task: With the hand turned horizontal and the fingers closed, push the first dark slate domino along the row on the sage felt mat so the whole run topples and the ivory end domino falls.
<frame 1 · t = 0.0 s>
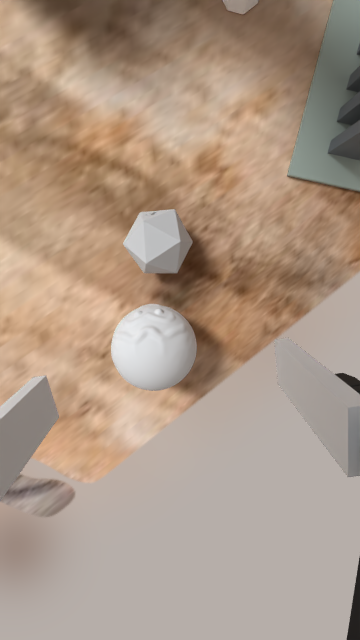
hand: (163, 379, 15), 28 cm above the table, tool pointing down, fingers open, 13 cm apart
decorative ball: (157, 333, 44), on the table
domino 2: (356, 119, 36), point 1 cm above the table, touching felt mat
domino 1: (346, 150, 37), point 1 cm above the table, touching felt mat
die: (160, 243, 40), on the table
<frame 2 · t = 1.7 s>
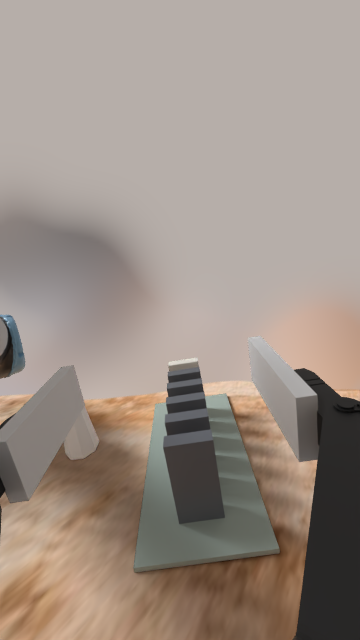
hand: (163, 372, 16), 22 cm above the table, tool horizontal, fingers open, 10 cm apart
domino 3: (196, 461, 37), point 1 cm above the table, touching felt mat
domino 2: (198, 484, 33), point 1 cm above the table, touching felt mat
salt shaker: (83, 449, 44), on the table
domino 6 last: (191, 412, 48), point 1 cm above the table, touching felt mat
domino 4: (194, 442, 41), point 1 cm above the table, touching felt mat
felt mat: (196, 454, 39), on the table
domino 5: (193, 426, 44), point 1 cm above the table, touching felt mat
domino 1: (201, 513, 30), point 1 cm above the table, touching felt mat
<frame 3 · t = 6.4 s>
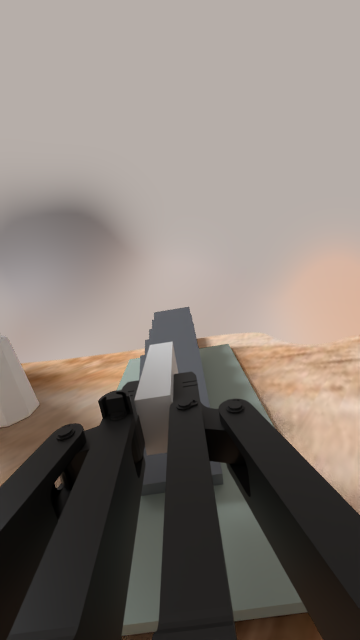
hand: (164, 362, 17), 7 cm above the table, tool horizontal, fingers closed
domino 3: (178, 408, 23), point 1 cm above the table, tilted 66°, touching domino 2, domino 4, felt mat
domino 2: (178, 437, 19), point 1 cm above the table, tilted 66°, touching domino 1, domino 3
salt shaker: (13, 415, 29), on the table
domino 4: (178, 385, 27), point 1 cm above the table, tilted 65°, touching domino 3, domino 5, felt mat
felt mat: (181, 415, 24), on the table
domino 5: (178, 367, 31), point 1 cm above the table, tilted 65°, touching domino 4, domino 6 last
domino 1: (179, 485, 15), point 1 cm above the table, tilted 66°, touching domino 2, felt mat
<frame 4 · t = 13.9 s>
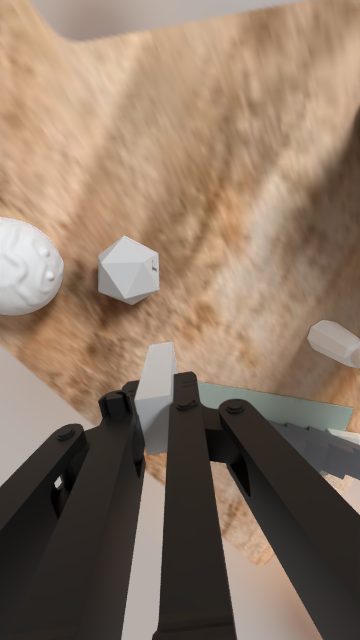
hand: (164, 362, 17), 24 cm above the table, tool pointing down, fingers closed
decorative ball: (36, 265, 40), on the table
domino 3: (260, 433, 46), point 1 cm above the table, tilted 66°, touching domino 2, domino 4, felt mat
domino 2: (239, 430, 46), point 1 cm above the table, tilted 66°, touching domino 1, domino 3
salt shaker: (322, 334, 43), on the table
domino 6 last: (324, 443, 47), point 1 cm above the table, tilted 90°, touching domino 5, felt mat
domino 4: (282, 436, 46), point 1 cm above the table, tilted 65°, touching domino 3, domino 5, felt mat
felt mat: (263, 429, 47), on the table
domino 5: (304, 440, 46), point 1 cm above the table, tilted 65°, touching domino 4, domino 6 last
die: (133, 270, 40), on the table
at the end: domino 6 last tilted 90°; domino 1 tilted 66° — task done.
